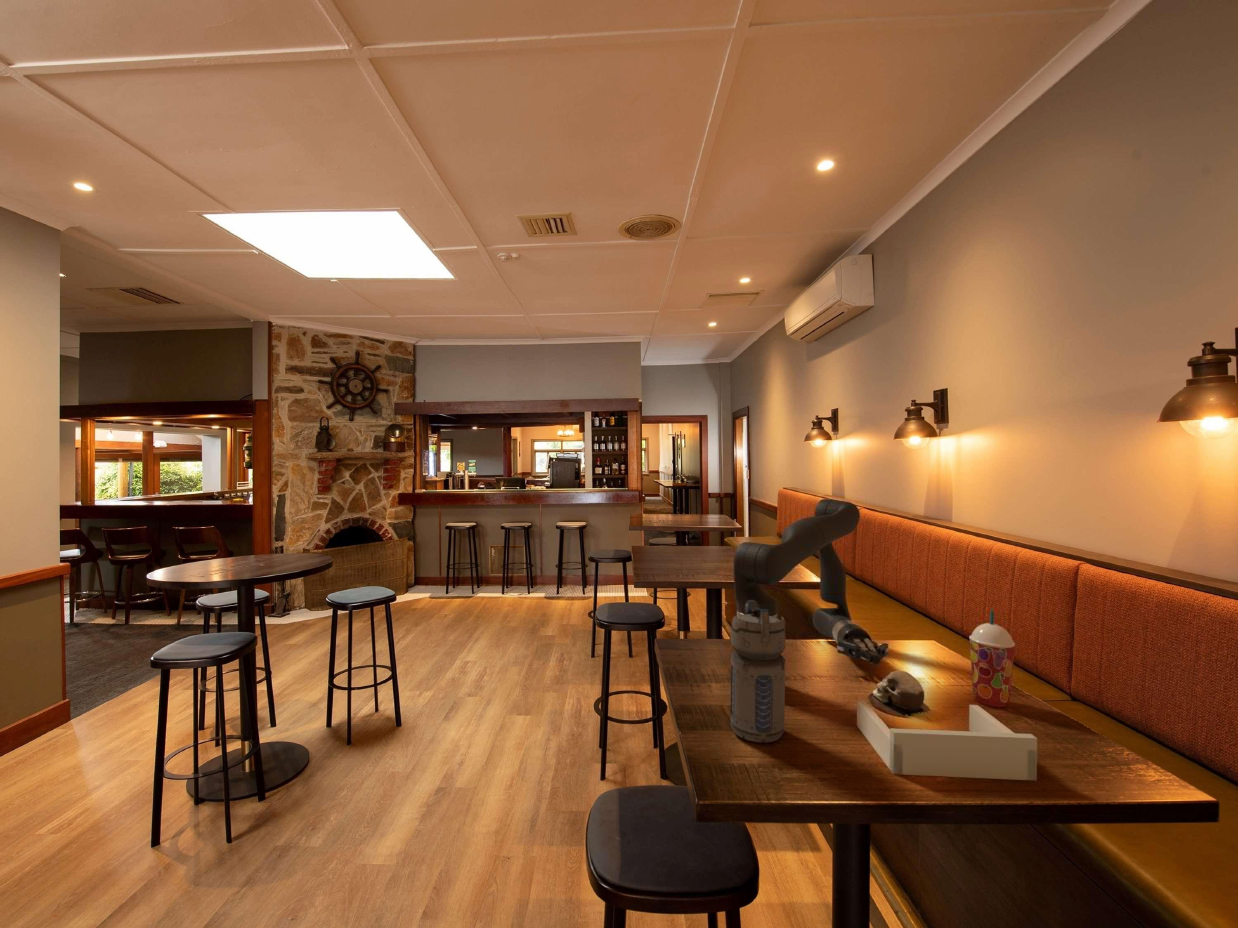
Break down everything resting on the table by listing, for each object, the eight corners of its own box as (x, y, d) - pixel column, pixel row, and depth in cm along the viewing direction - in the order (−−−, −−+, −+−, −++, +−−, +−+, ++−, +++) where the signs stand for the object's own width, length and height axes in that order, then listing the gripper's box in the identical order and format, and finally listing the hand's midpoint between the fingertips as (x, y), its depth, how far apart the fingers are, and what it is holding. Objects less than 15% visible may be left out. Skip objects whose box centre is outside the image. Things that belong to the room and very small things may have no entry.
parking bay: (893, 773, 95) (893, 732, 95) (856, 725, 113) (857, 690, 113) (1036, 780, 94) (1037, 738, 93) (977, 730, 111) (977, 694, 111)
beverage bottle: (772, 715, 117) (773, 594, 116) (792, 748, 103) (794, 611, 103) (723, 715, 117) (724, 594, 116) (737, 747, 103) (738, 611, 103)
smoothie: (1000, 695, 128) (1001, 607, 128) (1022, 711, 120) (1024, 617, 120) (961, 693, 129) (962, 605, 129) (981, 709, 120) (982, 615, 120)
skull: (852, 696, 124) (873, 656, 128) (877, 721, 128) (897, 682, 131) (901, 716, 114) (923, 673, 117) (927, 743, 117) (947, 700, 120)
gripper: (825, 622, 150) (847, 643, 133) (876, 624, 149) (905, 645, 132) (825, 650, 150) (847, 675, 133) (876, 652, 149) (905, 677, 132)
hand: (876, 660), depth 133 cm, fingers closed
